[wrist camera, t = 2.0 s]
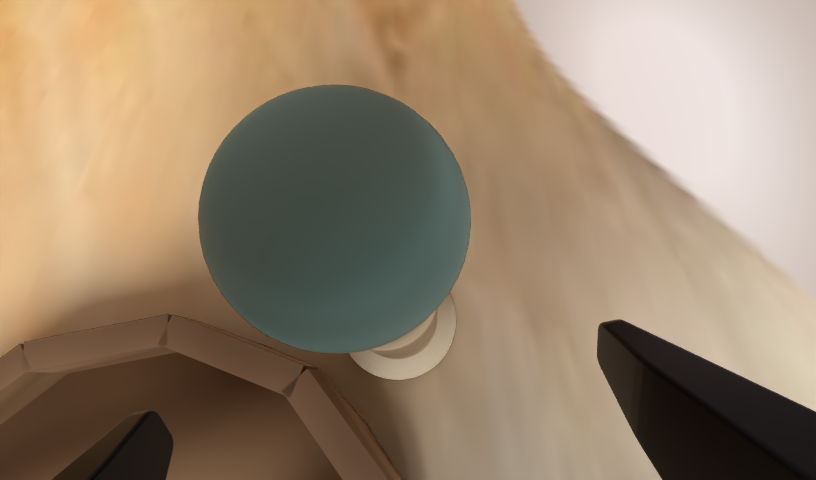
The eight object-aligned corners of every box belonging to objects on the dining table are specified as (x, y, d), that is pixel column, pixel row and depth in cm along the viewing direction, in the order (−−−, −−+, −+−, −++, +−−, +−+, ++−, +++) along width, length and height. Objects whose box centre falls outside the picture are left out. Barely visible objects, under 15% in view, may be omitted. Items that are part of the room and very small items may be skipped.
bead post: (478, 327, 19) (603, 167, 5) (392, 405, 18) (242, 482, 4) (406, 247, 20) (341, -54, 6) (323, 316, 19) (35, 143, 5)
